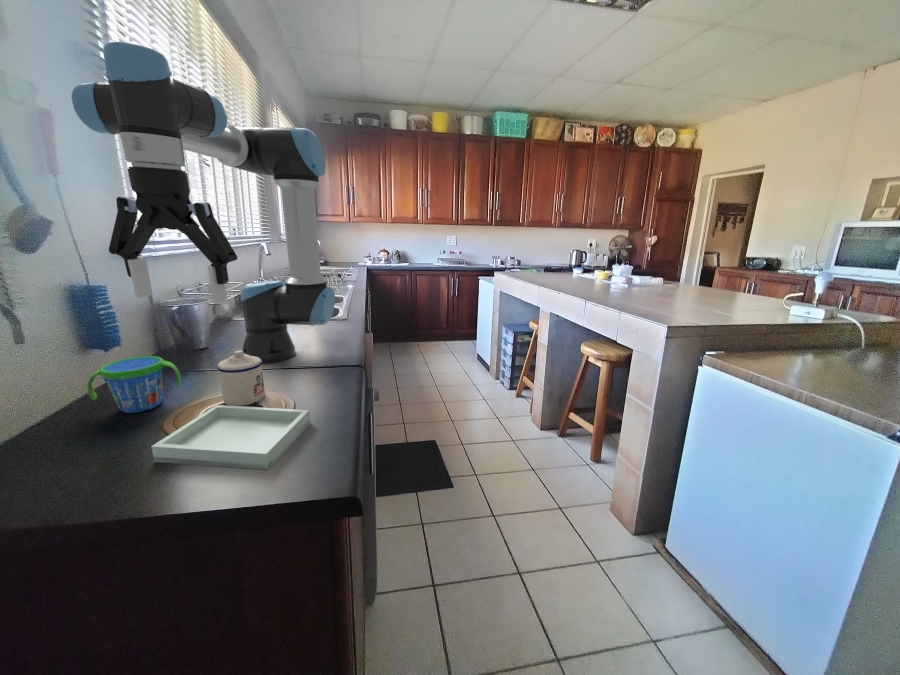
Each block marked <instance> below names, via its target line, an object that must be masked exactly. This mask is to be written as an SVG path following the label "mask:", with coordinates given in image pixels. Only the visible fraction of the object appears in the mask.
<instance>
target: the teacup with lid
mask: <svg viewBox="0 0 900 675" xmlns="http://www.w3.org/2000/svg"><path fill="white" fill-rule="evenodd" d="M262 364H263V363H262V361H261V359H260V358H259V357H255V356H250V355H247V354H244V352H243V351H242V350H236V351H234V352H233V355H231V356H229V357H228V358H225V359H224V360H221V361H219V363H217V367H216V369H217V371H218V375H219V381H220V387H221V394H222V400H223V403H224V404H225V405H227V406H244V407H245V406H249V405H253V404H255V403H254V402H256V401H258V402H259V400H260V401H261V400H263V399H264V398H265V396H266V392H265V382H264V374H263V373H264V372H263V366H262ZM263 397H264V398H263ZM262 398H263V399H262ZM256 403H257V402H256Z"/></svg>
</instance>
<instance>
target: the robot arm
mask: <svg viewBox="0 0 900 675" xmlns="http://www.w3.org/2000/svg"><path fill="white" fill-rule="evenodd" d="M102 48H103V49H102V52H103V57H104V65H105V78H106V79H107V81H108V82H100V81H94V82H87V83H79V84H77V85H76V86H74V88H73V89H72V91H71V97H70V98H71V101H72V106H73V110H74V112H75V113H76V115H77V117H78V118H79V120H80V121H81V122H82V123H83V124H84V125H85V126H87V127H88V129H91V131H93V132H97V133H100V134H109V135H111V136H112V135H119V136H120V139H121V145H122V149H123V150H122V151H123V153H124V159H125V161H126V162H127V163H131V166H128V168H127V169H126V170H127V175H128V178H129V183H130V188H131V191H133V192H134V193H135V194H136V198H135V197H133V196H117V197H116V208H117V213H116V217H115V222H114V225H113V230H112V232H111V238H110V242H109V245H108V252H109V253H110V255H117V256H119V257H120V258H122V259H123V260H124V266H125V269H126V274H127V275H128V277H129V278H131V280H132V286H133V289H134V294H135V298H137V299H142V298H144V297H145V298H146V297H148V296H151V295H153V289H152V284H151V280H150V276H149V270H148V266H147V262H146V258H145V257H142V256H143V254H141V253H142V252H143V250H144V249H145V247H146V245H147V244H148V242H149V241H150V239H151V238H152V236H153V234H154V233H155V231H156V230H157V229H159V230H160V229H167V230H173V231H175V230H176V231H177V230H178V231H179V232H180V233H182V234H184V235H185V236H186V237H187V238H188V240H189V241H191V243H192V244H193V245H194V246H195V247H196V248H197V249H198V250H199V251H200V252H201V254H203V256H204V257H205V258H206V259H207V260H208V261H209V262H210V263H211V264H209V265H207V271H208V275H209V276H208V277H209V283H210V288H211V295H212V301H213V305H215V304H216V305H219V304H221V303H224V302H226V301H228V296H227V295H228V294H227V288H226V284H227V283H229V280H230V279H229V273H228V264H229V263H230V262H235V261H237V260H238V255H237V254H236V251H235V250H234V249H233V246H232V245H231V243H230V242H229V240H228V239H227V237H226V235H225V234H224V232H223V230H222V229H221V227H220V225H219V223H218V221H217V220H216V218H215V217H214V213H213V209H212V205H211V204H210V203H209V202H194V203H192V202H191V200H190V194H191V189H190V188H191V187H190V183H189V176H188V173H187V172H186V170H183V168H184V167H186V166H187V162H186V158H185V151H188V152H192V153H196V154H199V155H203V156H207V157H211V158H214V159H216V160H217V161H218V162H220V163H221V164H222V165H224V166H228V167H230V168H234V169H238V170H242V171H246V172H249V173H253V174H257V175H265V176H273V182H274V183H275V184H276V185H277V186H278V187H279V188H280V194H281V204H282V213H283V221H284V230H285V231H284V232H285V240H286V250H287V251H286V252H287V260H288V268H289V276H288V277H287V279H285V281H284V283H283V281H282V280H272V281H271V280H270V281H263V282H256V283H251V284H247V285H244V286H243V287H242V288H241V291H240V294H241V296H240V297H241V298H240V302H241V305H242V312H243V320H244V321H243V322H244V328H245V329H244V330H245V337H244V341H243V345H242V346H243V347H242V350H241V351H243V352H244V354H247V355H250V356H255V357H259V358H260V359H261V361H262V364H263V363H265V364H267V363H268V364H269V363H274V362H281V361H283V360H287V359H288V360H289V359H290V358H292V357H293V356H295V355H296V346H295V344H294V342H293V340H292V337H291V336H290V333H289V331H288V325H296V326H297V325H299V326H300V325H302V326H304V325H305V326H312V327H313V326H322V325H326V324H328V322H330V320H331V319H332V316H333V313H334V309H335V303H336V294H335V292H334V289H333V288H332V287H330V286H328V281H327V279H326V278H325V277H324V276H323V275H322V273H321V264H320V248H319V239H318V238H319V237H318V236H319V235H318V225H317V214H316V202H315V201H316V200H315V189H316V188H317V186H319V184H320V182H319V177H322V176H324V175H325V172H326V170H325V169H326V158H325V154H324V152H323V151H324V150H323V147H322V145H321V143H320V140H319V139H318V137H317V135H316V134H315V133H314V132H313V131H312V130H310V129H309V128H302V127H296V126H293V127H238V126H234V125H231V124H228V114H227V110H226V109H225V108H226V107H225V106H224V104H223V103H222V101H221V100H220V99H219V98H218V97H217V96H215V95H214V94H212V93H211V92H209V91H206V90H205V89H204V88H201V87H200V86H195V85H193V84H190V83H188V82H186V81H183V80H179V79H177V78H175V77H174V76H173V72H172V71H171V67H170V63H169V61H168V59H167V58H166V56H165V55H164V54H163V53H161V52H159V50H156V49H153V48H151V47H147V46H143V45H140V44H134V43H131V42H123V41H109V42H107V43H105V44H104V45H103V47H102ZM184 150H185V151H184ZM138 212H140V213H141V215H140V216H139V218H138V220H137V217H138ZM192 215H193V216H195V217H196V219H197V220H198V223H199V224H200V225H199V224H198V223H197V222H196V220H195V219H194V218H193V217H192ZM136 221H137V222H136ZM135 225H136V226H135ZM200 226H201V228H202V229H203V231H204V232H203V231H202V230H201V229H200ZM284 284H285V285H284Z"/></svg>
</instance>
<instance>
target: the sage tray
mask: <svg viewBox="0 0 900 675" xmlns="http://www.w3.org/2000/svg"><path fill="white" fill-rule="evenodd" d="M310 412H311V411H310V409H294V408H279V407H276V408H275V407H259V406H245V405H244V406H230V405H227V404H225V405H224V404H216V405H214V406H212V407H211V408H209V409H207V410H206V411H204V412H203V413H202V414H200V415H198V416H196V417H195V418H194V419H192V420H190V421H189V422H187V423H186V424H184V425H183V426H181V427H179V428H178V429H176V430H175V431H173V432H171V433H170V434H168V435H167V436H165V437H164V438H162V439H161V440H159V441H157V442H156V443H155V444H153V445H151V446H150V448H151V452H152V456H153V461H154V463H159V464H161V463H163V464H175V465H179V464H180V465H192V466H206V467H217V468H218V467H219V468H220V467H221V468H234V469H250V470H264V471H268V470H269V469H271V468H272V467H273V465H274V464H275V463H276V462H277V461H278V460H279V459H280V458H281V457H282V455H284V453H285V452H287V450H288V449H289V448H290V447H291V446H292V445H293V443H294V442H295V441H296V440H298V438H299V437H300V436H301V434H303V432H305V430H306V429H307V428H308V427H309V426H310V425H311V413H310Z"/></svg>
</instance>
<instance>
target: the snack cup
mask: <svg viewBox="0 0 900 675" xmlns="http://www.w3.org/2000/svg"><path fill="white" fill-rule="evenodd" d="M164 367H169V368H172V370H173V371H174V373H175V376H176V382H177V388H180V387H181V386H180V385H181V381H182V378H181V373H180V371H179V370H180V369H179V368H178V367H177V366H176V365H175V364H174V363H173V362H171V361H169V360H165V359H163V357H160V356H155V355H153V356H152V355H149V356H147V355H146V356H136V357H128V358H122V359H119V360H116V361H111V362H109V363H107V364H105V365H103V366H102V367H100V369H98V370H96V371H95V372H94V373H92V375H91V376H90V377H89V380H88V382H87V393H88V395H89V397H90V399H91V400H92V401H95V400H97V398H98V394H97V393H96V391H95V388H94V386H93V382H94V380H95V378H96V377H97V376H101V378H102V379H103V380H104V382H105V383H106V384H107V386H108V387H107V388H109V391H110V393H111V395H112V397H113V399H114V402H115V403H116V405H117V407H118V409H119V410H120V411H121V412H123V413H127V414H133V413H141V412H145V411H148V410H152V409H153V408H156V407H158V406H159V405H160V404H162V403H163V400H164V394H163V391H164V389H163V388H164V386H163V382H164V381H163V368H164Z"/></svg>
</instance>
